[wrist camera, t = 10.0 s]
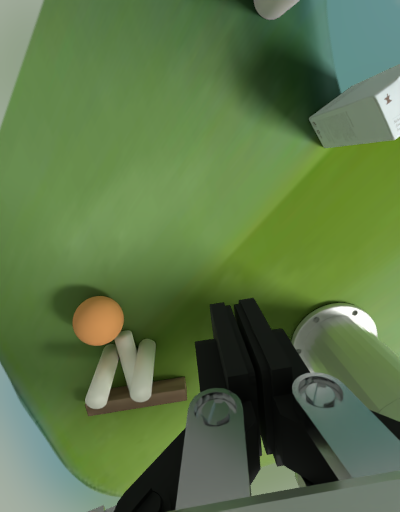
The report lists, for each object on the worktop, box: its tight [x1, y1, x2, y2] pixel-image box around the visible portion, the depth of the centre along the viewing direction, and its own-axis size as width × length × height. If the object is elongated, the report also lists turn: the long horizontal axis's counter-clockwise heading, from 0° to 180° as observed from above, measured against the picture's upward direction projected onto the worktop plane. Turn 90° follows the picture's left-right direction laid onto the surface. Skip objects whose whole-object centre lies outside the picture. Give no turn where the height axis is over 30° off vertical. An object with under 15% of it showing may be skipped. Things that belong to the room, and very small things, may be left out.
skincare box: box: [309, 64, 400, 148], centre depth 29 cm, size 6×4×12 cm
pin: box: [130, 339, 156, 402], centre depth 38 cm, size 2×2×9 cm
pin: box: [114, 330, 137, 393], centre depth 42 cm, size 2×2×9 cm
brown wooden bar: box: [85, 377, 187, 416], centre depth 44 cm, size 2×14×2 cm, turn 97°
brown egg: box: [73, 296, 124, 346], centre depth 37 cm, size 6×6×6 cm
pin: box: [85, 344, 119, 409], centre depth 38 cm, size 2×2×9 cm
